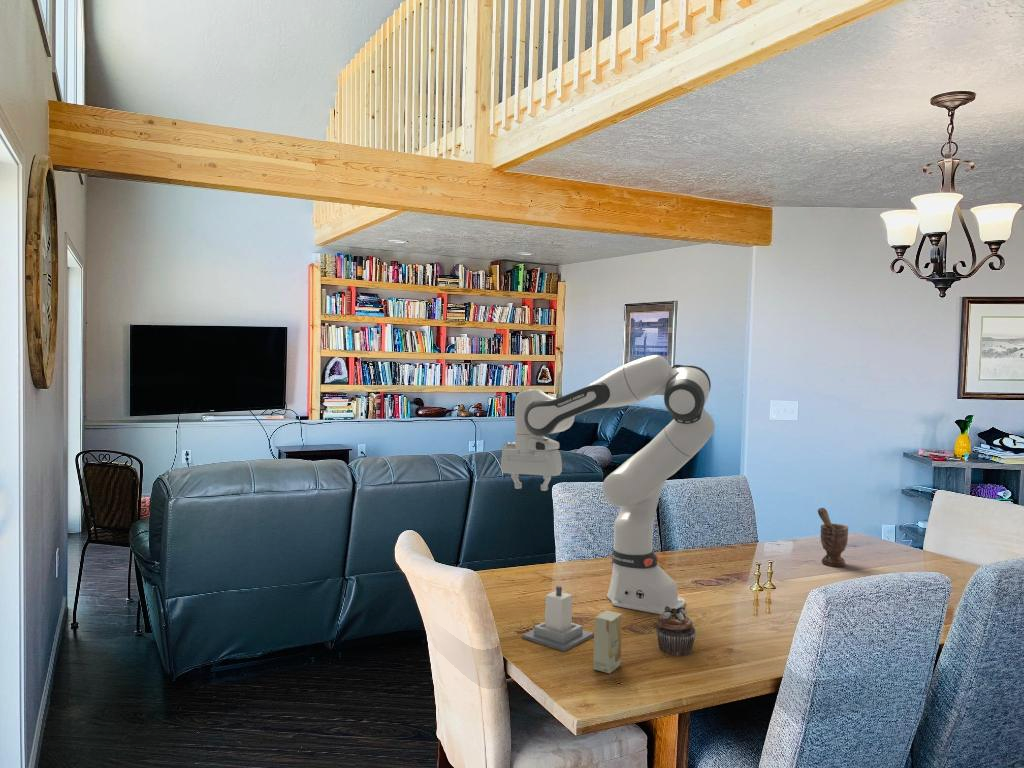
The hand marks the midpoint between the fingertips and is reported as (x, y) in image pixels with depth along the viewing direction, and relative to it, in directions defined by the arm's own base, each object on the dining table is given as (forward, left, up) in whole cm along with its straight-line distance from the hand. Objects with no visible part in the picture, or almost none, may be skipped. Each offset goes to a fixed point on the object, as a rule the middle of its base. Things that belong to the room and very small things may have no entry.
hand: (531, 489), depth 229 cm
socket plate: (-28, +25, -30) cm, 48 cm away
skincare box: (-47, +32, -30) cm, 65 cm away
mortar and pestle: (-61, -87, -30) cm, 111 cm away
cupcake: (-54, +12, -30) cm, 63 cm away
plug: (-28, +25, -29) cm, 48 cm away
